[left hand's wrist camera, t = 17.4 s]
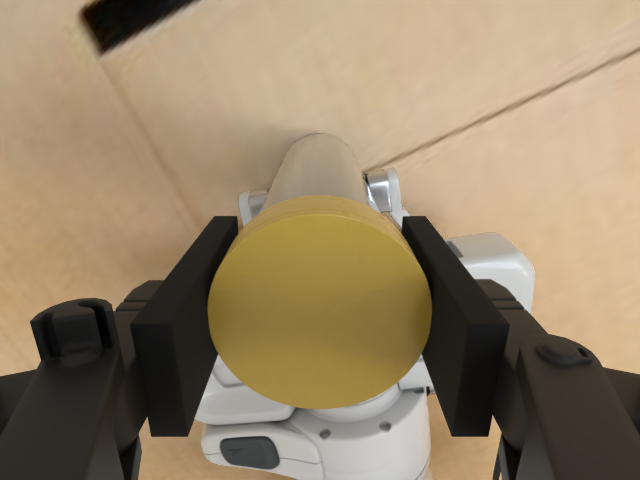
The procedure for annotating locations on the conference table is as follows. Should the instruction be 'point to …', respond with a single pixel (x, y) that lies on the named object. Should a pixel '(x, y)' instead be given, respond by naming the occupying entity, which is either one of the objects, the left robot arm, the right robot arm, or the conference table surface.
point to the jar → (319, 172)
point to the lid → (319, 303)
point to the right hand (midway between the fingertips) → (316, 182)
